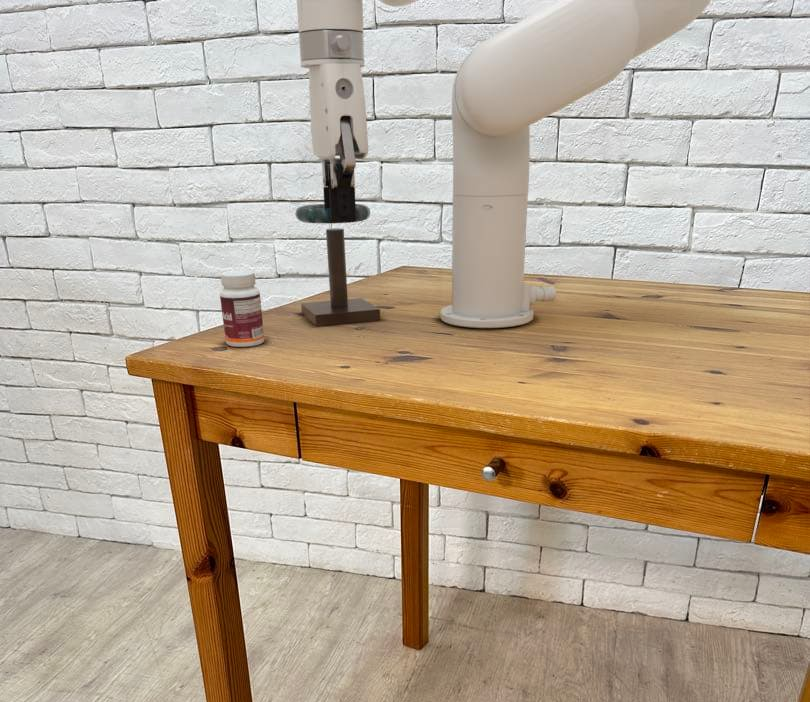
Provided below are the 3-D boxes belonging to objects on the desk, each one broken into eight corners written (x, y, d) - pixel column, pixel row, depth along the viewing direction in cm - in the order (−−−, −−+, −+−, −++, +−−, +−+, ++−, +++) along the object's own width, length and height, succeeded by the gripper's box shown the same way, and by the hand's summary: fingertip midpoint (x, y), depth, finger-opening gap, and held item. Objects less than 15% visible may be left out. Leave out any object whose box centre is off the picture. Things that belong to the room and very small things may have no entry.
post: (361, 308, 113) (358, 224, 108) (380, 320, 105) (376, 230, 100) (301, 313, 110) (294, 228, 105) (316, 326, 103) (309, 234, 98)
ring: (358, 216, 107) (358, 202, 106) (378, 221, 99) (377, 206, 98) (290, 219, 105) (289, 204, 104) (305, 225, 96) (304, 209, 96)
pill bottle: (222, 341, 96) (213, 271, 93) (259, 336, 98) (252, 268, 94) (230, 349, 93) (221, 277, 89) (269, 344, 94) (261, 273, 90)
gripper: (383, 46, 84) (387, 226, 93) (345, 58, 98) (352, 215, 106) (316, 45, 82) (327, 229, 91) (287, 58, 96) (298, 217, 104)
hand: (340, 220), depth 99 cm, fingers closed on ring, 2 cm apart
